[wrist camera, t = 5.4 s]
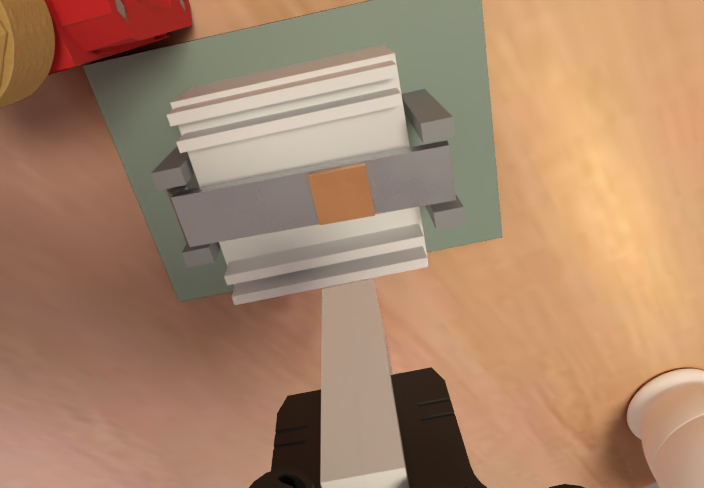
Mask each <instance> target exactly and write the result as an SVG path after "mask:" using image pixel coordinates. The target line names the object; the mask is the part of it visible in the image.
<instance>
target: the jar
mask: <svg viewBox="0 0 704 488" xmlns="http://www.w3.org/2000/svg"><path fill="white" fill-rule="evenodd" d="M627 423H628V426H629V428H630V430H631V431H632V433H633V434H634V435H635V436H636V437H638V438H639V439H641V440H642V447H643V451H644V455H645V458H646V461H647V463H648V466H649V468H650V470H651V472H652V474H653V476H654V478H655V479H656V481H657V484H658V487H659V488H704V370H700V369H679V370H674V371H670V372H667V373H665V374H662V375H660V376H658V377H656V378H654V379H653V380H651V381H650V382H648V383H647V384H645V385H644V386H643V387H642V388H641V389H640V390H639V391H638V392H637V393H636V394H635V396H634V397H633V399H632V400H631V402H630V404H629V407H628V410H627Z"/></svg>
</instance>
